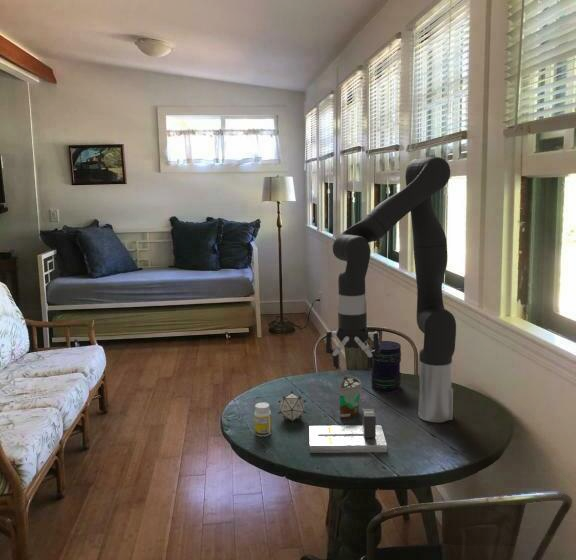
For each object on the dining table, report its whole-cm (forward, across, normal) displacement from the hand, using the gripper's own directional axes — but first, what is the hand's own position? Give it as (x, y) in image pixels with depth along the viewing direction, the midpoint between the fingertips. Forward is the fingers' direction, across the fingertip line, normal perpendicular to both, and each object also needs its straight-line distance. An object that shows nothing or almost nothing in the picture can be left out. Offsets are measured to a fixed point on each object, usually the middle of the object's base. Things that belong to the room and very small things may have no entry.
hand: (353, 368), depth 156 cm
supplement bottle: (+20, +25, +2) cm, 32 cm away
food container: (+20, +3, -16) cm, 26 cm away
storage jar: (+20, -6, -39) cm, 44 cm away
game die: (+20, +19, -8) cm, 29 cm away
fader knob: (+17, -4, +2) cm, 18 cm away
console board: (+20, +2, +3) cm, 20 cm away
